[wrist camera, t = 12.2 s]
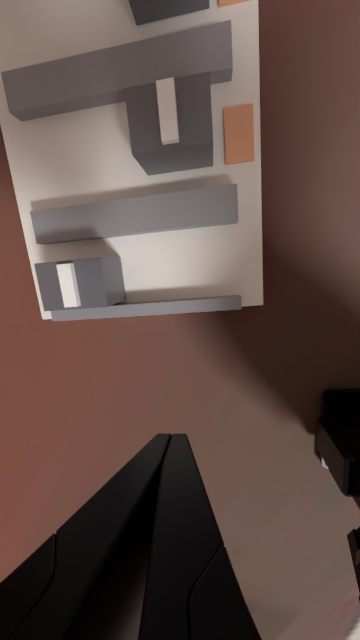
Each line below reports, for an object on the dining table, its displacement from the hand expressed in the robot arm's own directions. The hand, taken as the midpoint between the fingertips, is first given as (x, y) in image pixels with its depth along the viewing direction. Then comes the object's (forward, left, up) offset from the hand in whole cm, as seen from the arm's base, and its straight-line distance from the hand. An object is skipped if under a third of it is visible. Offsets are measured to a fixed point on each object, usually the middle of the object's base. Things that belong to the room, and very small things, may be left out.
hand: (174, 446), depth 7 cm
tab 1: (+7, -4, -11) cm, 13 cm away
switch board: (+4, -12, -12) cm, 17 cm away
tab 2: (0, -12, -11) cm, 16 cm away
